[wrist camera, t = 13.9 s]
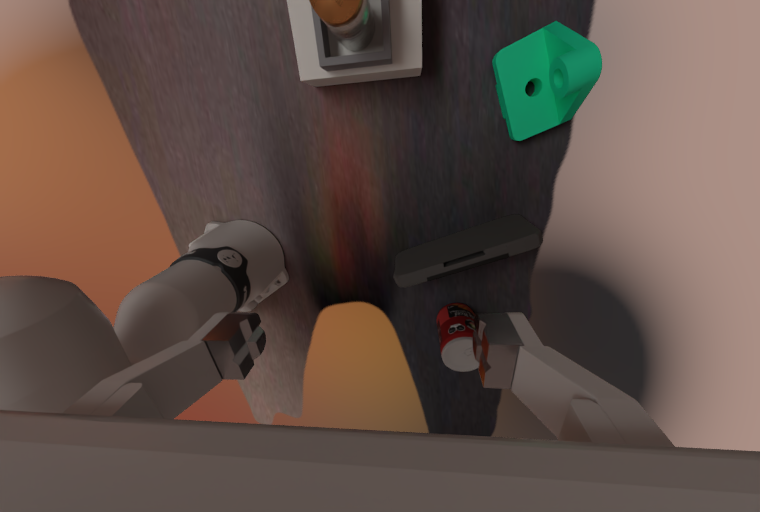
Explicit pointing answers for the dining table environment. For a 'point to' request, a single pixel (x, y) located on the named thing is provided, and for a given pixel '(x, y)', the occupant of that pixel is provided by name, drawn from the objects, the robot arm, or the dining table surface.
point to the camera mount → (545, 78)
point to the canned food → (457, 337)
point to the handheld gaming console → (466, 250)
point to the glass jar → (347, 21)
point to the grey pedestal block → (376, 62)
